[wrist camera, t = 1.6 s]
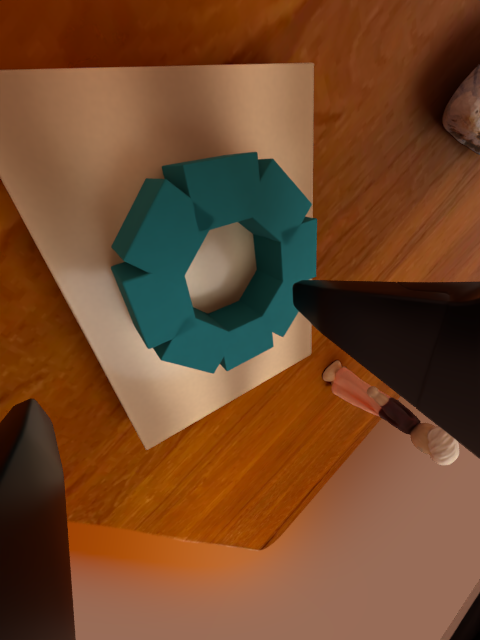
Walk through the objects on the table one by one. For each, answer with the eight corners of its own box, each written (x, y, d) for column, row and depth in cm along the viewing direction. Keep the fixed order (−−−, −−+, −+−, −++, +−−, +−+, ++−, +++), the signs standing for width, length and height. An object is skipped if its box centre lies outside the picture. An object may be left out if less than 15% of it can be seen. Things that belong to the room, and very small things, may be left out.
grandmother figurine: (310, 383, 30) (433, 479, 21) (329, 353, 30) (462, 437, 20) (342, 392, 35) (452, 473, 26) (358, 367, 35) (476, 440, 25)
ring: (154, 376, 15) (169, 403, 14) (74, 180, 10) (81, 182, 8) (290, 310, 19) (315, 324, 17) (283, 144, 14) (318, 140, 12)
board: (134, 419, 19) (146, 451, 17) (-35, 93, 10) (-58, 70, 8) (287, 338, 25) (311, 354, 23) (274, 78, 15) (314, 62, 13)
